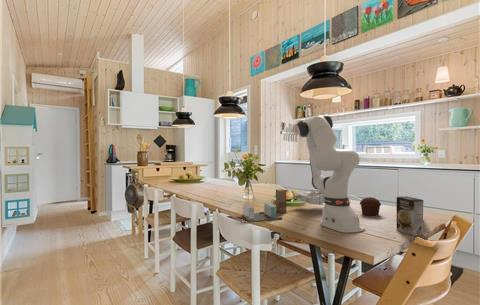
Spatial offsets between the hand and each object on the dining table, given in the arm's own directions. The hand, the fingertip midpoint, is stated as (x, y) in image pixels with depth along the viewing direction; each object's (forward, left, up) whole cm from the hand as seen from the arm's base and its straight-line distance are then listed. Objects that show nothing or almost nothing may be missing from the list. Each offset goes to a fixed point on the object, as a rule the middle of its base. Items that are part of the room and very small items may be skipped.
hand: (296, 198), depth 169 cm
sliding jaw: (-8, +21, -7) cm, 23 cm away
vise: (-8, +26, -8) cm, 28 cm away
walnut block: (0, +10, -8) cm, 13 cm away
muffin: (-21, -38, -8) cm, 44 cm away
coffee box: (-54, -32, -8) cm, 63 cm away
